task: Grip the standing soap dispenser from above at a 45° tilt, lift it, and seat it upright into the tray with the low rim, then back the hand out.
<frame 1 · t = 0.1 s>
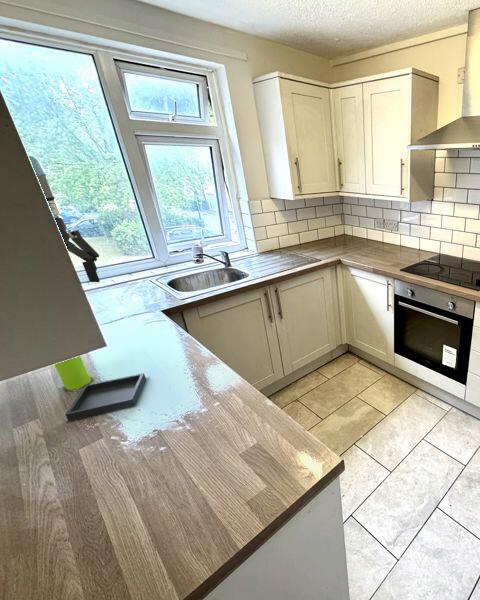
hand: (73, 289, 97), 29 cm above the countertop, tool pointing down, fingers open, 13 cm apart
soap dispenser: (79, 385, 102), on the countertop
tray: (110, 398, 96), on the countertop
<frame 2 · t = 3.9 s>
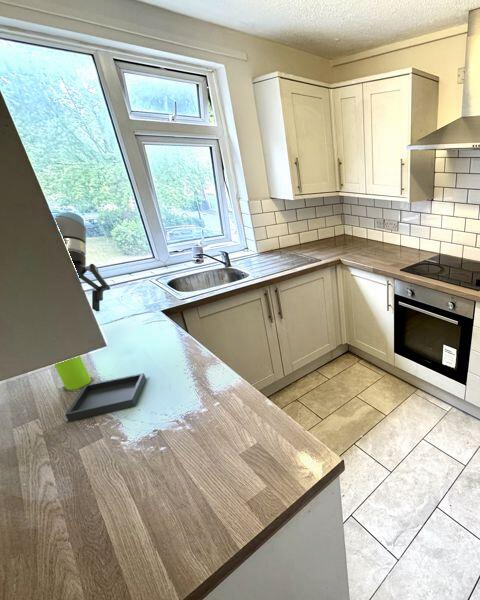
hand: (68, 313, 103), 20 cm above the countertop, tool tilted 45°, fingers open, 13 cm apart
nothing on the countertop moved.
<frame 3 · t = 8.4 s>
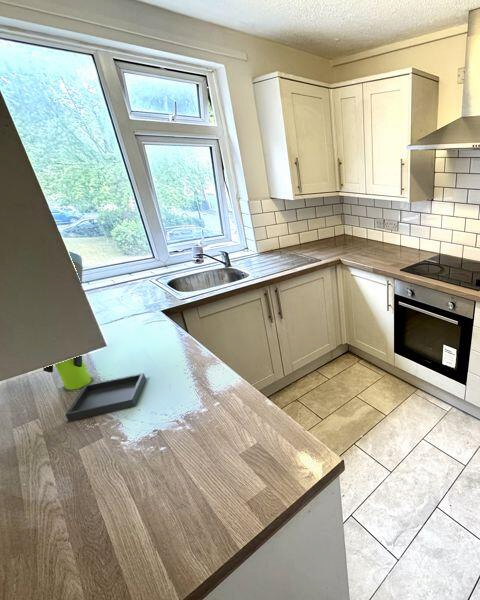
hand: (63, 368, 95), 8 cm above the countertop, tool tilted 45°, fingers closed on soap dispenser, 6 cm apart
soap dispenser: (79, 384, 102), on the countertop, touching gripper
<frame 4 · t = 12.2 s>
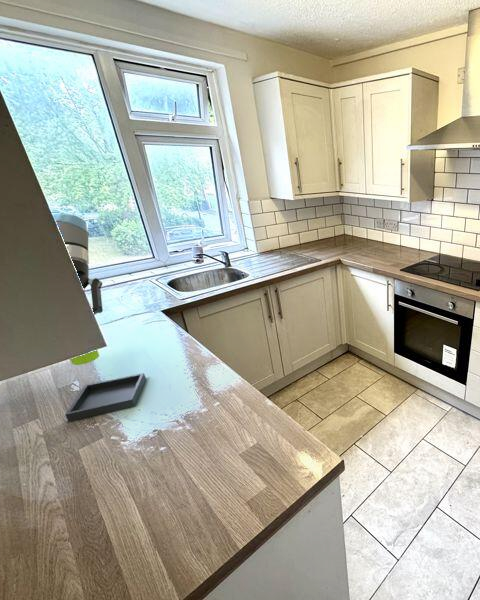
hand: (69, 340, 87), 20 cm above the countertop, tool tilted 45°, fingers closed on soap dispenser, 6 cm apart
soap dispenser: (86, 360, 93), point 12 cm above the countertop, touching gripper
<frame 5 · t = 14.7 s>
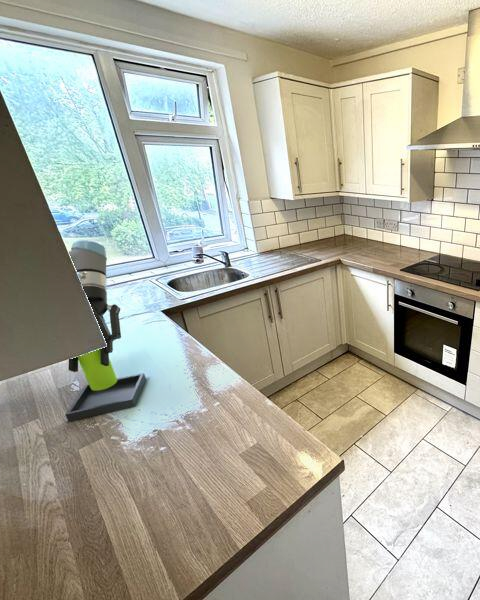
hand: (89, 367, 88), 13 cm above the countertop, tool tilted 45°, fingers closed on soap dispenser, 6 cm apart
soap dispenser: (105, 385, 94), point 5 cm above the countertop, touching gripper
when the fingers open (9 cm above the countertop, at t = 16.3 s): soap dispenser stays where it is, resting on tray.
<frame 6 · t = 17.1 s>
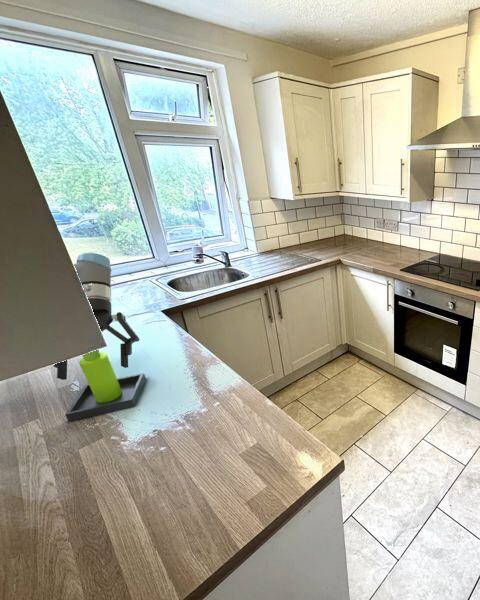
hand: (94, 372, 90), 11 cm above the countertop, tool tilted 45°, fingers open, 13 cm apart
soap dispenser: (110, 397, 96), resting on tray
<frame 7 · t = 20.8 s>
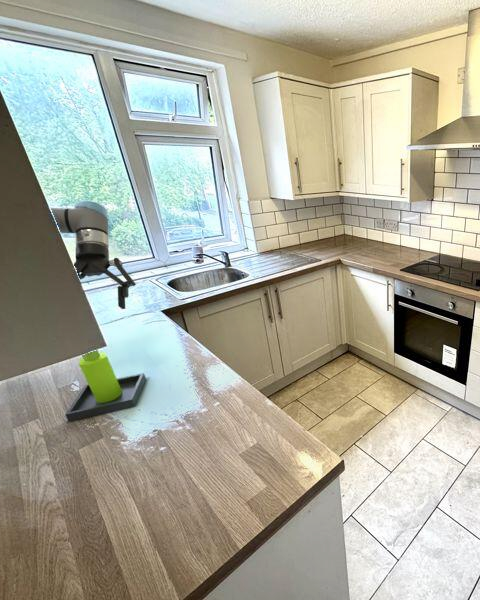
hand: (93, 311, 96), 24 cm above the countertop, tool tilted 45°, fingers open, 13 cm apart
nothing on the countertop moved.
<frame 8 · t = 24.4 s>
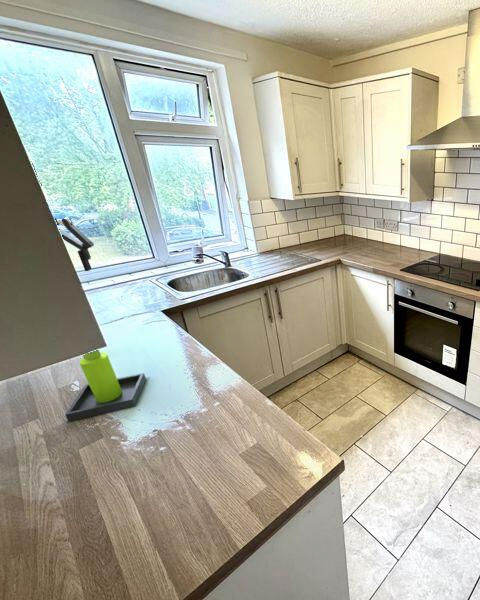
hand: (60, 272, 103), 32 cm above the countertop, tool pointing down, fingers open, 13 cm apart
nothing on the countertop moved.
at the end: soap dispenser inside the target area in the tray (0.0 cm from its centre), point 0.4 cm above the tray's base; soap dispenser tilted 1°; the gripper is holding nothing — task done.
